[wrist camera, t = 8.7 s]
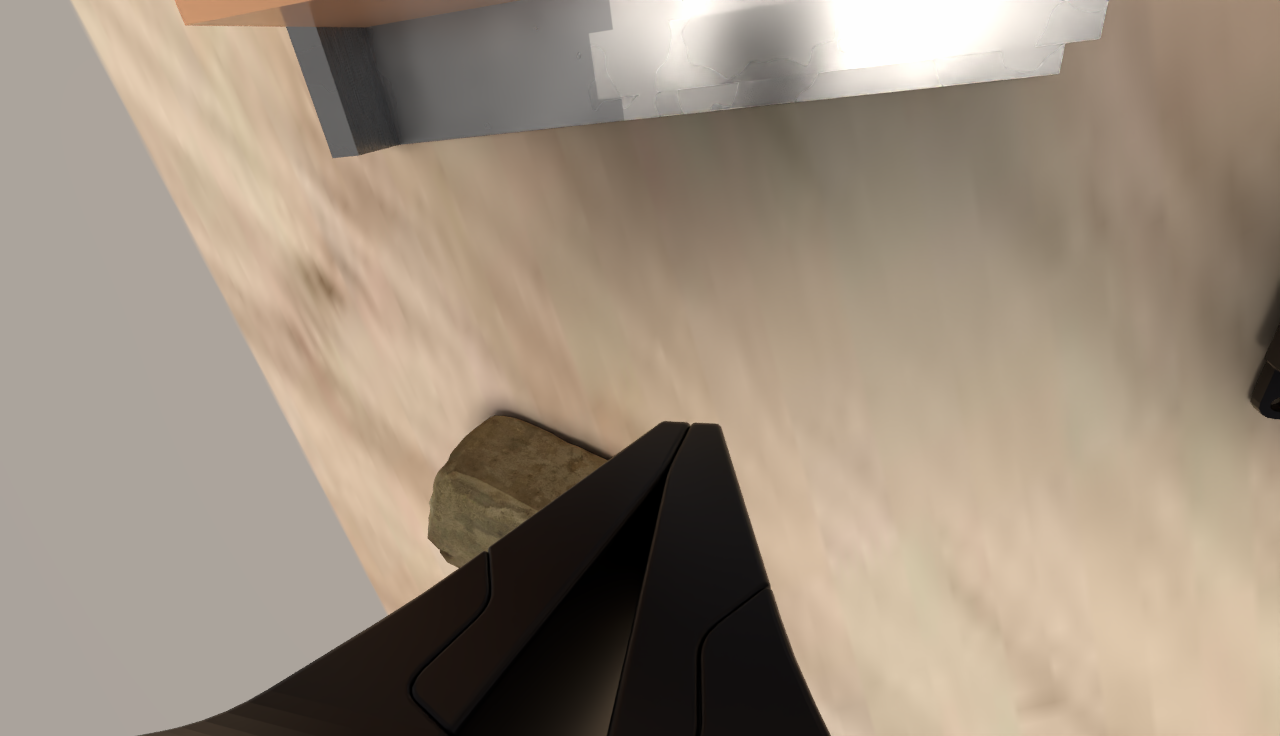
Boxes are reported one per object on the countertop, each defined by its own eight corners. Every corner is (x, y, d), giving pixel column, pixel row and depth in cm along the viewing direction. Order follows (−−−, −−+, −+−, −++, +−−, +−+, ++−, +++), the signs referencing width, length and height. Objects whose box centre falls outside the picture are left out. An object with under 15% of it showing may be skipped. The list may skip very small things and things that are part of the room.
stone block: (491, 394, 25) (426, 466, 21) (730, 504, 25) (712, 600, 21) (470, 482, 29) (410, 558, 24) (682, 580, 28) (658, 676, 24)
